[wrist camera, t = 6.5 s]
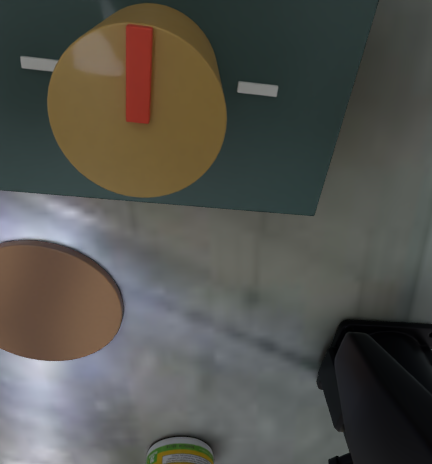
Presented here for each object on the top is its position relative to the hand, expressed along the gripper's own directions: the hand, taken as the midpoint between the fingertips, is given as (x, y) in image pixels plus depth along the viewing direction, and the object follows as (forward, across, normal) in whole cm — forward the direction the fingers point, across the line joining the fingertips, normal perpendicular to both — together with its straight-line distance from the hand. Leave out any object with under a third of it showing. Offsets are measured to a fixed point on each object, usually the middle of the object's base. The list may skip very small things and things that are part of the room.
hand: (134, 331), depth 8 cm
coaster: (+12, +6, +11) cm, 17 cm away
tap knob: (+9, 0, -3) cm, 9 cm away
